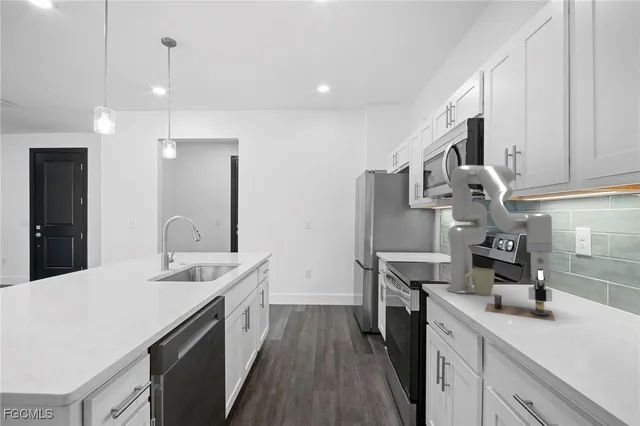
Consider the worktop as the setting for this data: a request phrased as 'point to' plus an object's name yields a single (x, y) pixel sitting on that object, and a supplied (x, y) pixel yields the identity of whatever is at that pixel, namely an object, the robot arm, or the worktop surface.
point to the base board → (517, 311)
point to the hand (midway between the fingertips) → (540, 298)
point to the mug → (482, 280)
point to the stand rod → (497, 301)
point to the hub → (539, 309)
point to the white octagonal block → (532, 294)
